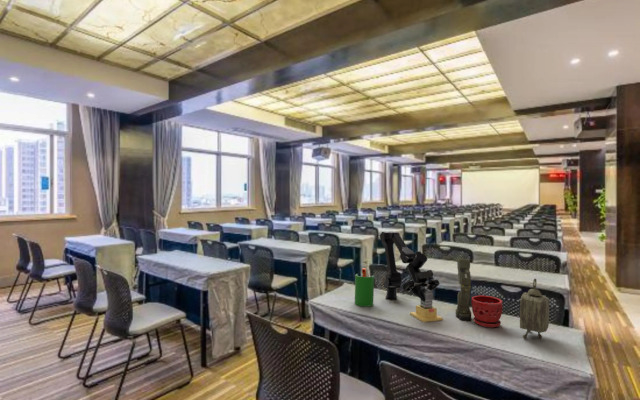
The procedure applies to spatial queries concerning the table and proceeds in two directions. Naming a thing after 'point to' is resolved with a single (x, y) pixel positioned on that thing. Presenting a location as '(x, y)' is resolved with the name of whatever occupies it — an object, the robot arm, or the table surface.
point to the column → (427, 299)
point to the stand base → (426, 314)
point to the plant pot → (487, 310)
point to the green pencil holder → (364, 289)
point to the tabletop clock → (534, 311)
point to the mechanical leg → (464, 290)
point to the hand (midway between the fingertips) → (428, 300)
